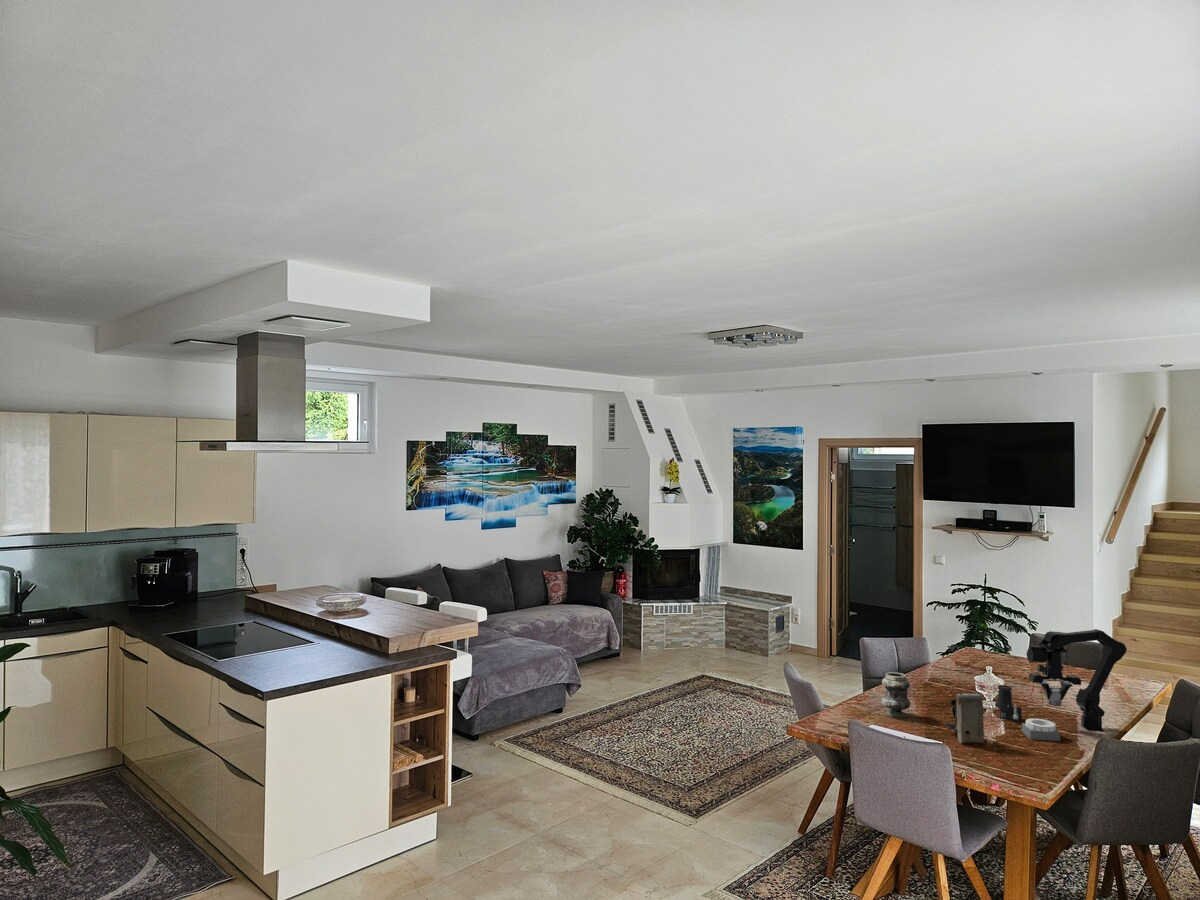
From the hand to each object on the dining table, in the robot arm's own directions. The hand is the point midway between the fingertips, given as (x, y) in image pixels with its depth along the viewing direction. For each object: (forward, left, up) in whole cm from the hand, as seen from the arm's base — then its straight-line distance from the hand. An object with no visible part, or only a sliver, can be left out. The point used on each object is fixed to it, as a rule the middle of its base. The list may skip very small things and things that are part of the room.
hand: (1054, 699), depth 333 cm
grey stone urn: (+63, -6, -12) cm, 64 cm away
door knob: (0, 0, -2) cm, 2 cm away
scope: (+16, -9, -12) cm, 22 cm away
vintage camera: (+42, +21, -12) cm, 48 cm away
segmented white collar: (+10, +12, -12) cm, 20 cm away
